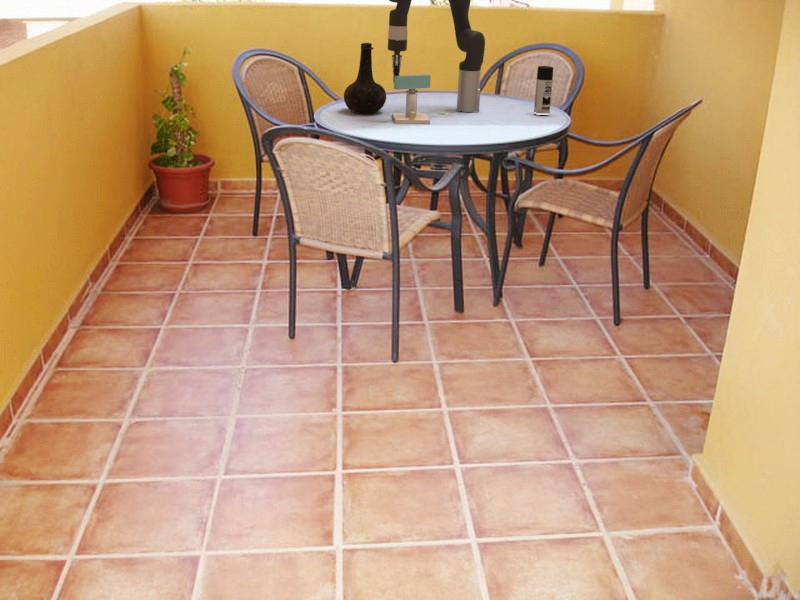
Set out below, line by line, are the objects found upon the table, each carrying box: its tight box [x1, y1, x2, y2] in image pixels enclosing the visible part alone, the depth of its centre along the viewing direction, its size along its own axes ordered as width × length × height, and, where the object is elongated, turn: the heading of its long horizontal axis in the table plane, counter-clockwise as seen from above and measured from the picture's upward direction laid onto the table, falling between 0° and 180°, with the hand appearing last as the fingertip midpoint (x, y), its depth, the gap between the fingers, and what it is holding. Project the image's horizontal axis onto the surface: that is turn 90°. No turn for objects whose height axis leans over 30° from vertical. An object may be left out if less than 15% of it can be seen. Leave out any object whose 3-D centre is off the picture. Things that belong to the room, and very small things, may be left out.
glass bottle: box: [343, 42, 387, 115], centre depth 350 cm, size 18×18×28 cm
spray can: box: [533, 65, 554, 114], centre depth 358 cm, size 7×7×20 cm
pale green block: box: [393, 73, 432, 94], centre depth 337 cm, size 15×3×7 cm, turn 117°
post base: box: [391, 93, 431, 125], centre depth 340 cm, size 14×14×10 cm
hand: (396, 83), depth 337 cm, fingers closed
